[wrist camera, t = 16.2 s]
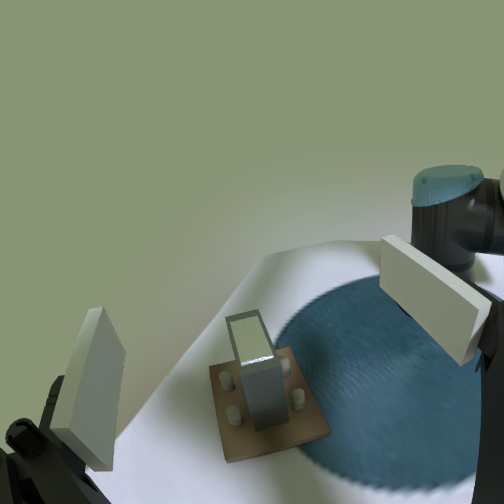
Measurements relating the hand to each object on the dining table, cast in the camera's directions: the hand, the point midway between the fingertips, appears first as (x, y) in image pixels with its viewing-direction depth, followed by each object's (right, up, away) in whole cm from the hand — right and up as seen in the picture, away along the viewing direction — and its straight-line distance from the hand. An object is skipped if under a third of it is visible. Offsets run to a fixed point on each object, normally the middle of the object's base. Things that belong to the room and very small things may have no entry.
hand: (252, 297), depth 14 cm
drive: (+1, -16, +23) cm, 28 cm away
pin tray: (+1, -17, +23) cm, 29 cm away
